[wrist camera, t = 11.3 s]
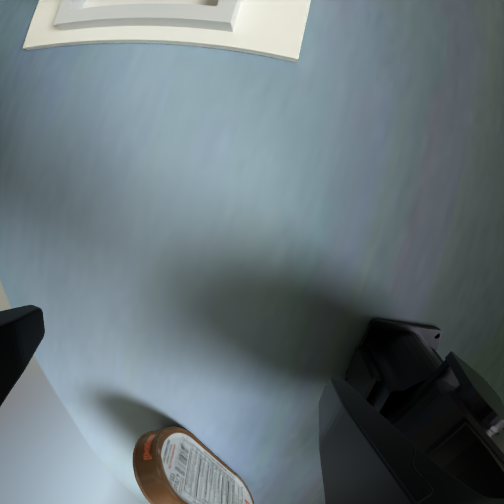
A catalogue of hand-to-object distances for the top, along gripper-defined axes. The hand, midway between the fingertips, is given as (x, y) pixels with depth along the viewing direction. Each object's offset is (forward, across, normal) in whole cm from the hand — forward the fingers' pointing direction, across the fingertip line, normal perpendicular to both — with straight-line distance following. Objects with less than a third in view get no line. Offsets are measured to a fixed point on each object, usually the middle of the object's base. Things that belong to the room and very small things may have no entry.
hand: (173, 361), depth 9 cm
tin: (+12, -2, +21) cm, 24 cm away
